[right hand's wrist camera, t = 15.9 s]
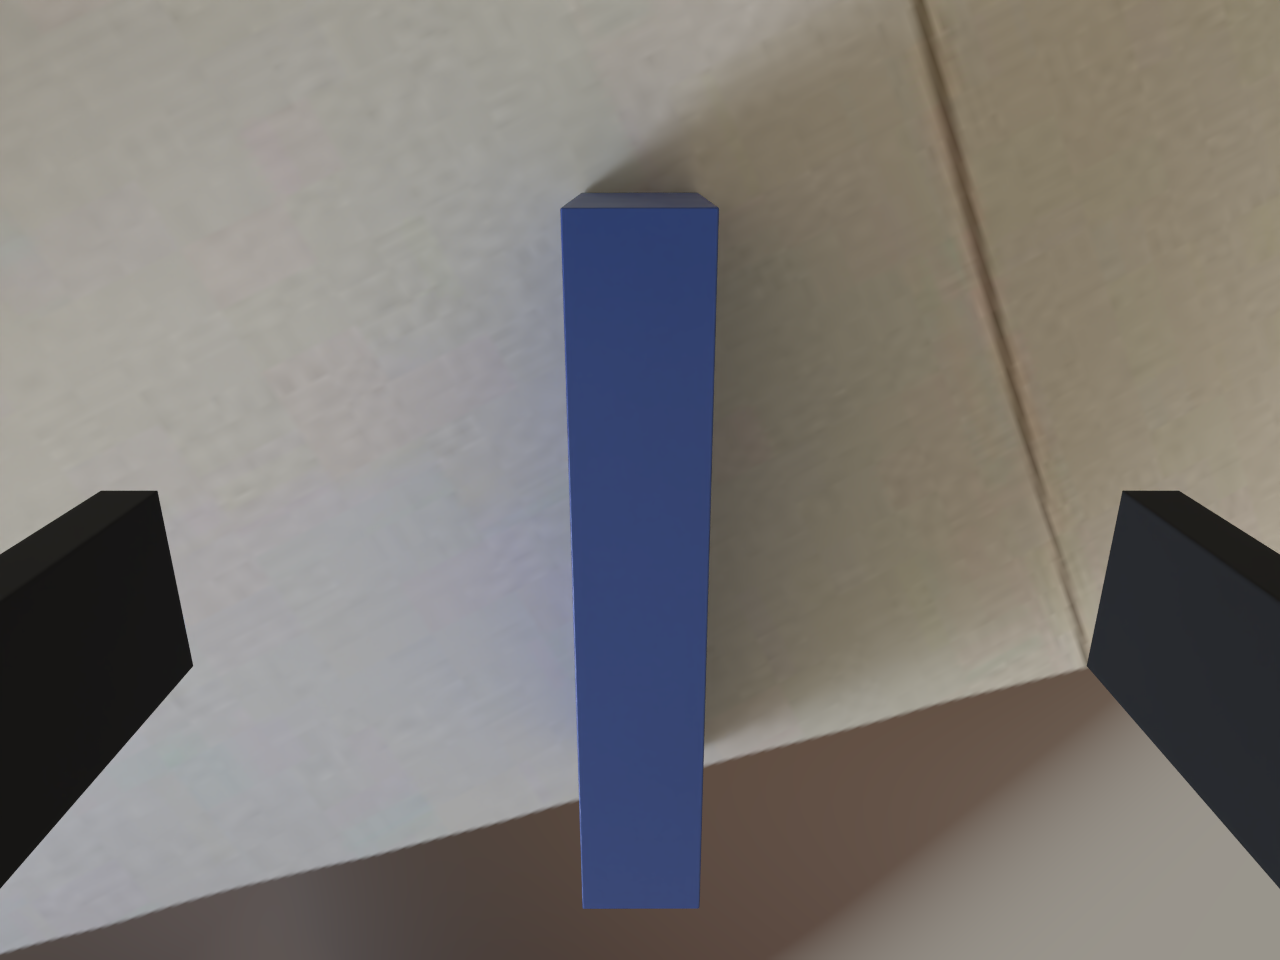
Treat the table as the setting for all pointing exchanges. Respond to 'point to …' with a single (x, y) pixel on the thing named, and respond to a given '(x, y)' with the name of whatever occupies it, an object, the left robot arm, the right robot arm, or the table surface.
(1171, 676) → the right robot arm
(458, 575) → the table surface
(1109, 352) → the table surface
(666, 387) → the bar
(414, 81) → the table surface
